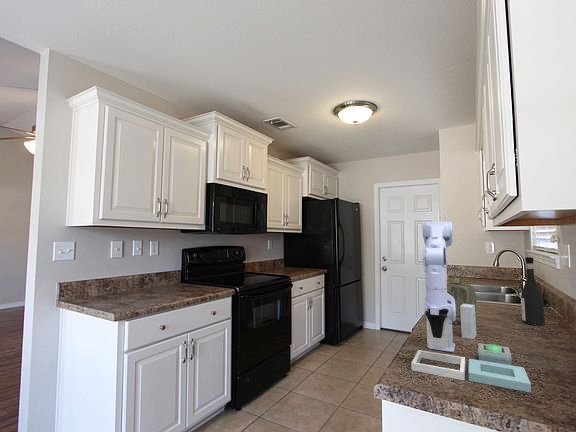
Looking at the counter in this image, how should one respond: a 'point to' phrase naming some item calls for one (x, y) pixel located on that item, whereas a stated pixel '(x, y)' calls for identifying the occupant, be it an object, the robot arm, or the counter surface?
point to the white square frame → (435, 369)
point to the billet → (438, 341)
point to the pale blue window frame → (499, 375)
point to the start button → (493, 347)
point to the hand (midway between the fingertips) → (438, 335)
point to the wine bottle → (532, 298)
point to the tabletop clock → (460, 292)
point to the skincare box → (468, 321)
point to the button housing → (495, 355)
